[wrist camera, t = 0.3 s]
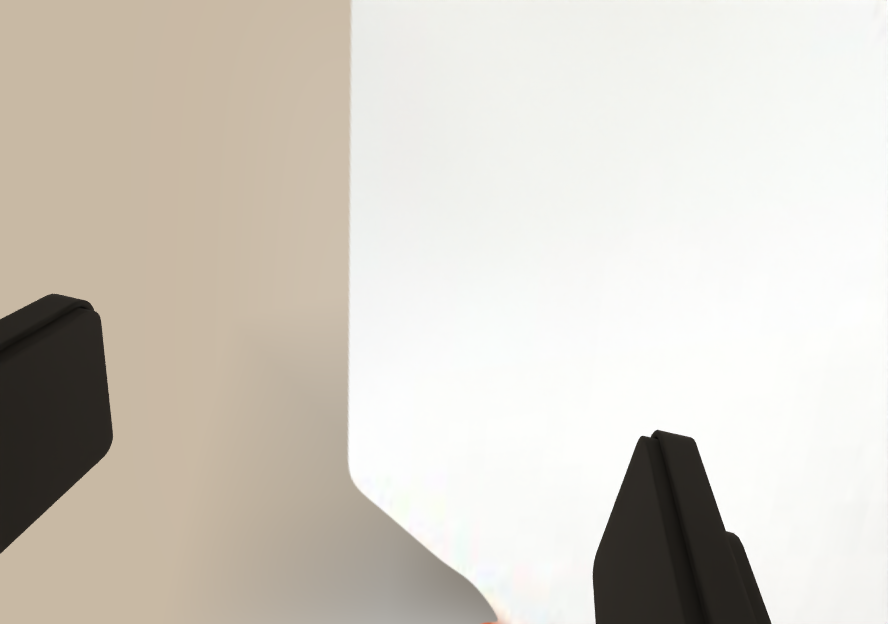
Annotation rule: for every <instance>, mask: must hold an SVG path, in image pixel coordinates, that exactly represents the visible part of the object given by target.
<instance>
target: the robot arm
mask: <svg viewBox="0 0 888 624" xmlns="http://www.w3.org/2000/svg"><path fill="white" fill-rule="evenodd" d="M112 440H113V431H112V422H111V412H110V403H109V393H108V383H107V374H106V365H105V355H104V345H103V337H102V326H101V319H100V316H99V314H98V313H97V312H95V311H94V309H93V307H92V305H91V304H90V303H89V302H87V301H85V300H80V299H76V298H72V297H67V296H63V295H59V294H50V295H47V296H45V297H43V298H41V299H39V300H37V301H35V302H33V303H31V304H29V305H27V306H25V307H24V308H22V309H20V310H18V311H16V312H14V313H12V314H10V315H8V316H6V317H4V318H2V319H0V553H2V552H3V551H4V550H5V549H6V548H7V547H8V546H9V545H10V544H11V543H12V542H13V541H14V540H15V539H16V538H17V537H18V536H20V535H21V534H22V533H23V532H24V531H25V530H26V529H27V528H28V527H29V526H30V525H31V524H32V523H34V521H36V520H37V519H38V518H39V517H40V516H41V515H42V514H43V513H44V512H45V511H46V510H47V509H48V508H49V507H51V506H52V505H53V504H54V503H55V502H56V501H57V500H58V499H59V498H60V497H61V496H62V495H63V494H65V493H66V492H67V491H68V490H69V489H70V488H71V487H72V486H73V485H74V484H75V483H76V482H77V481H78V480H80V478H82V477H83V476H84V475H85V474H86V473H87V472H88V471H89V470H90V469H91V468H92V467H93V466H94V465H96V464H97V463H98V462H99V461H100V460H101V459H102V458H103V457H104V456H105V455H106V453H107V452H108V450H109V449H110V446H111V443H112ZM593 588H594V603H595V618H596V624H771V621H770V618H769V616H768V613H767V610H766V607H765V605H764V602H763V599H762V596H761V594H760V591H759V588H758V585H757V583H756V580H755V577H754V574H753V572H752V569H751V566H750V563H749V561H748V558H747V555H746V552H745V550H744V547H743V545H742V543H741V541H740V539H739V537H738V536H736V535H735V534H734V533H731V532H727V531H726V530H725V527H724V525H723V522H722V519H721V516H720V513H719V510H718V507H717V504H716V501H715V498H714V495H713V492H712V489H711V486H710V483H709V480H708V477H707V475H706V472H705V469H704V466H703V463H702V460H701V457H700V454H699V451H698V448H697V445H696V442H695V441H694V439H693V438H691V437H686V436H682V435H678V434H673V433H669V432H664V431H660V430H656V431H654V433H653V434H652V436H651V438H650V437H646V436H641V437H640V438H639V440H638V442H637V445H636V447H635V450H634V453H633V455H632V458H631V461H630V464H629V466H628V469H627V472H626V474H625V477H624V480H623V482H622V485H621V488H620V491H619V493H618V496H617V499H616V501H615V504H614V507H613V510H612V512H611V515H610V518H609V520H608V523H607V526H606V528H605V531H604V534H603V537H602V539H601V542H600V545H599V547H598V550H597V553H596V556H595V560H594V566H593Z"/></svg>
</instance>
